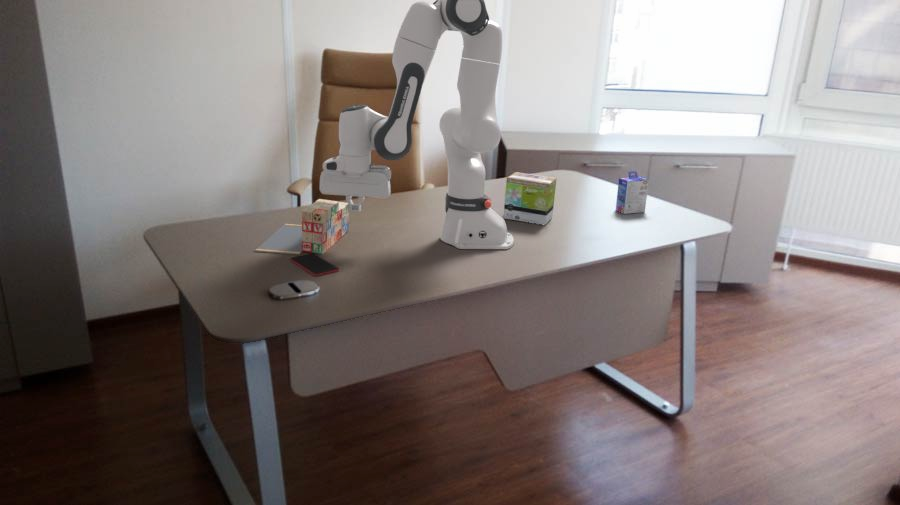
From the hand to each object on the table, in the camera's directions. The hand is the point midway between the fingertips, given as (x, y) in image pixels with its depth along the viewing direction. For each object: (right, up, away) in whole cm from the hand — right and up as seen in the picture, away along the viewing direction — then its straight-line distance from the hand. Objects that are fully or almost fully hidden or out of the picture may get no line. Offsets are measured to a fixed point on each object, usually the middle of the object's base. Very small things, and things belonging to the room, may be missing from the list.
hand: (355, 210), depth 188 cm
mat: (-20, -8, +5) cm, 22 cm away
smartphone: (-9, -16, -13) cm, 23 cm away
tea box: (+54, -1, +34) cm, 64 cm away
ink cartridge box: (+93, +3, +48) cm, 104 cm away
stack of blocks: (-9, -9, +4) cm, 14 cm away
